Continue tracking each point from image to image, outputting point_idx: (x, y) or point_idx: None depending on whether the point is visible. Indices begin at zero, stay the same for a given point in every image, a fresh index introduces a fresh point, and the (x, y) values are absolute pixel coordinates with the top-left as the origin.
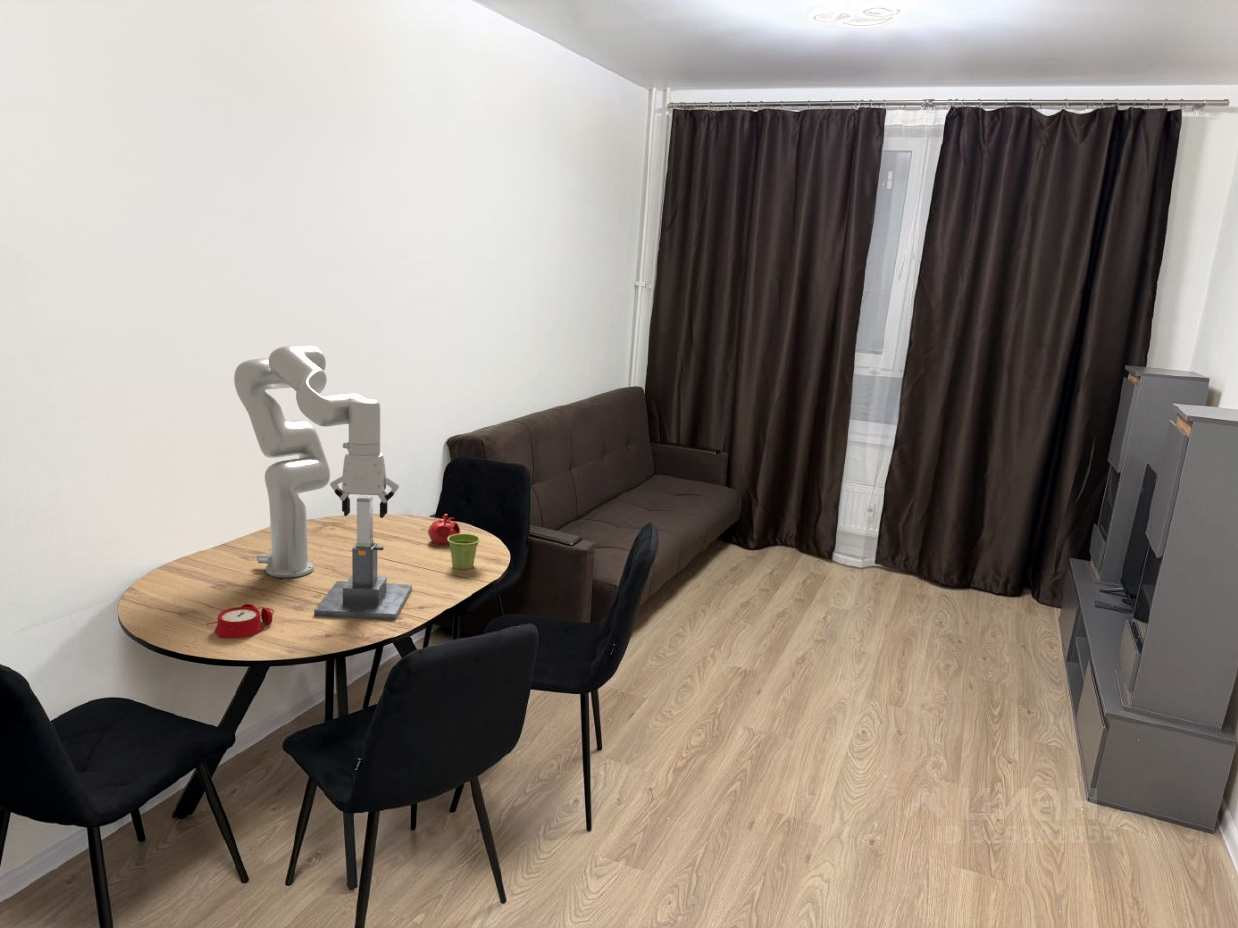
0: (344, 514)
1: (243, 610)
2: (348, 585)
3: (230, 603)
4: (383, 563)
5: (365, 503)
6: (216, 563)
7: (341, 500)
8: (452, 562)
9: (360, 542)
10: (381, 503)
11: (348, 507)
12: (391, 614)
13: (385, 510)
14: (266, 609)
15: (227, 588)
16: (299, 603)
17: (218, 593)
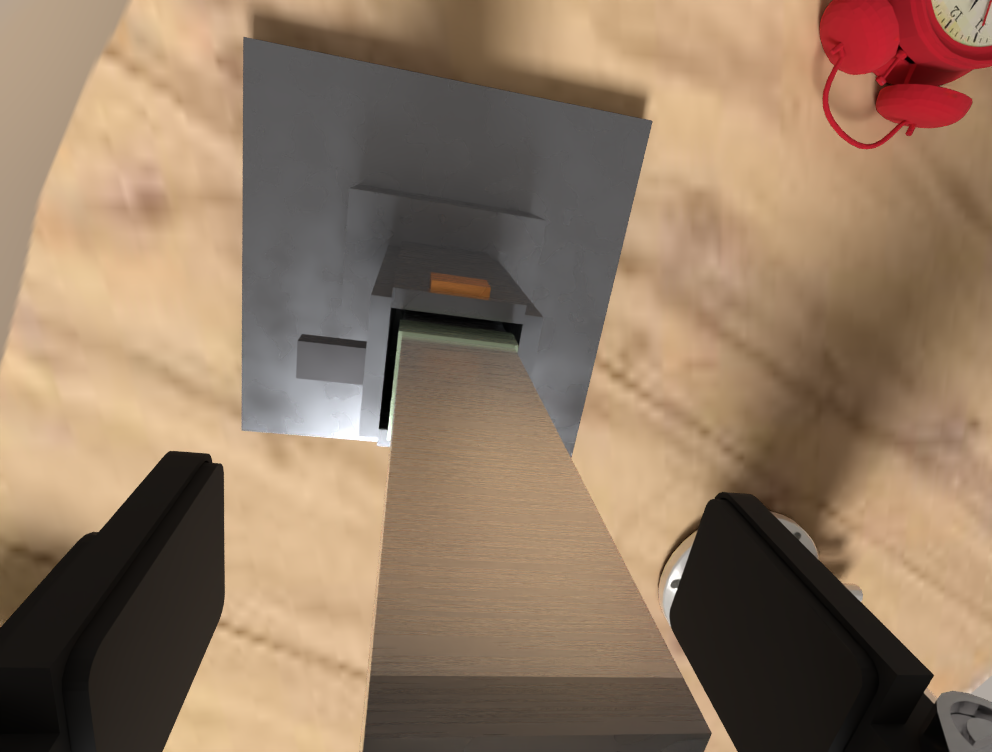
0: (752, 501)
1: (973, 37)
2: (519, 256)
3: (941, 275)
4: None
5: (473, 643)
6: (944, 609)
7: (973, 695)
8: None
9: (484, 345)
10: (22, 654)
11: (737, 636)
12: (267, 42)
13: (66, 566)
14: (888, 12)
15: (935, 415)
16: (701, 270)
17: (967, 370)
